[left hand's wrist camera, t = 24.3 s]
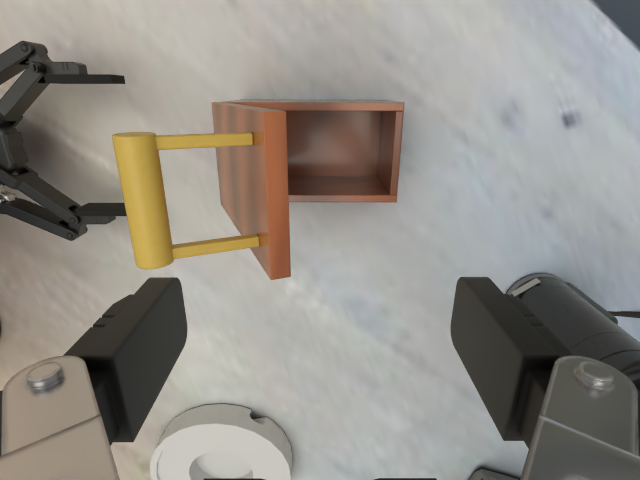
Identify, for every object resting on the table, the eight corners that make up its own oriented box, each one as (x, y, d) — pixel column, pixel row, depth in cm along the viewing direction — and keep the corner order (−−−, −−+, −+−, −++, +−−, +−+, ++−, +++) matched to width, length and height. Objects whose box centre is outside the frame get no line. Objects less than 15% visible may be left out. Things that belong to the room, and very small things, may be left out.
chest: (386, 100, 46) (404, 102, 37) (381, 181, 50) (396, 202, 40) (240, 99, 46) (220, 101, 36) (246, 180, 50) (228, 202, 40)
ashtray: (306, 489, 70) (305, 512, 66) (186, 509, 72) (179, 532, 68) (272, 392, 62) (269, 411, 58) (137, 417, 64) (126, 437, 60)
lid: (286, 111, 20) (101, 114, 17) (291, 276, 24) (138, 304, 21) (225, 102, 36) (123, 102, 33) (233, 203, 40) (141, 212, 36)
